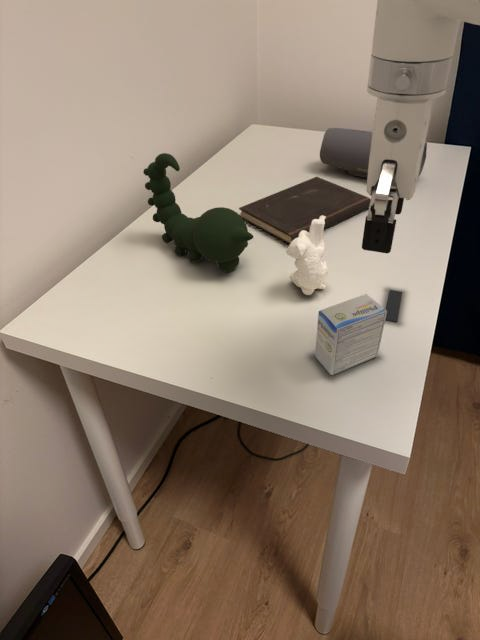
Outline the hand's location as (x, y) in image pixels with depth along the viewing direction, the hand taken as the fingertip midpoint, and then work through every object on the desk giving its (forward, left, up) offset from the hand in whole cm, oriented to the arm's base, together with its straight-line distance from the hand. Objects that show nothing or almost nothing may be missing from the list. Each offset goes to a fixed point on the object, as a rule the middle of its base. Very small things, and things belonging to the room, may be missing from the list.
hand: (382, 230), depth 58 cm
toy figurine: (+32, -16, -19) cm, 40 cm away
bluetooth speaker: (+8, -61, -19) cm, 64 cm away
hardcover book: (+18, -38, -19) cm, 46 cm away
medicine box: (+2, +3, -19) cm, 19 cm away
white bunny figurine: (+11, -12, -19) cm, 25 cm away
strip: (-3, -11, -19) cm, 22 cm away
